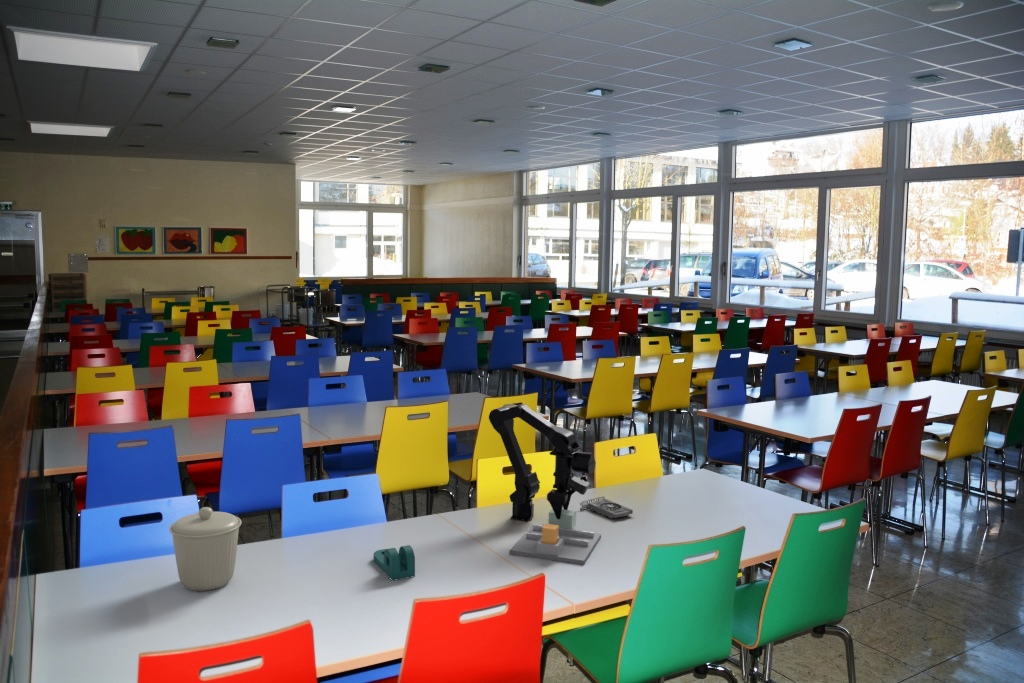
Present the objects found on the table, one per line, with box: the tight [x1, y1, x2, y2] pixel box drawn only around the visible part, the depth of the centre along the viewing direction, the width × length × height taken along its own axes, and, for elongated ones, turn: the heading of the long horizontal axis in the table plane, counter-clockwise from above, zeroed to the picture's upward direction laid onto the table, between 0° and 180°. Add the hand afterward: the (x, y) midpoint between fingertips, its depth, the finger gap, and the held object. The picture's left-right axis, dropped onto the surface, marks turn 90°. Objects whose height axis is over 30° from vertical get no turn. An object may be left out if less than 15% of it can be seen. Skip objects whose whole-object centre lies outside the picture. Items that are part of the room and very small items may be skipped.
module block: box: [548, 508, 577, 529], centre depth 266 cm, size 8×5×5 cm, turn 70°
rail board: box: [509, 523, 602, 565], centre depth 248 cm, size 23×24×4 cm
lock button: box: [542, 523, 559, 545], centre depth 240 cm, size 4×4×5 cm
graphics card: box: [579, 495, 634, 519], centre depth 281 cm, size 17×4×12 cm
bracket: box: [373, 544, 416, 581], centre depth 228 cm, size 18×7×8 cm, turn 29°
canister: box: [168, 506, 242, 592], centre depth 214 cm, size 18×18×21 cm
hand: (562, 514), depth 266 cm, fingers open, 9 cm apart
